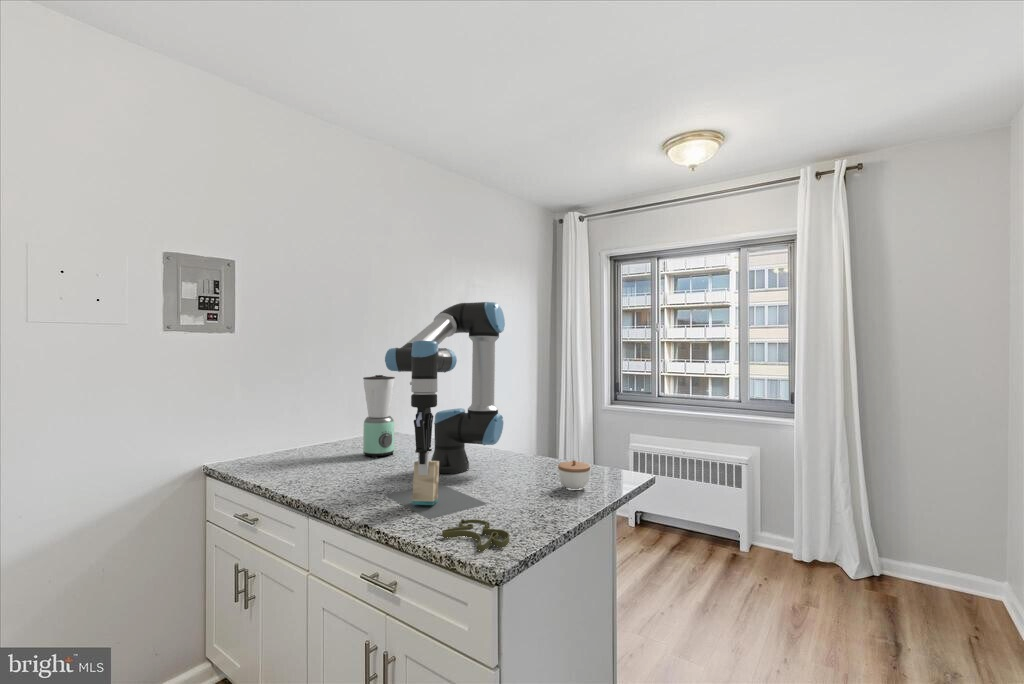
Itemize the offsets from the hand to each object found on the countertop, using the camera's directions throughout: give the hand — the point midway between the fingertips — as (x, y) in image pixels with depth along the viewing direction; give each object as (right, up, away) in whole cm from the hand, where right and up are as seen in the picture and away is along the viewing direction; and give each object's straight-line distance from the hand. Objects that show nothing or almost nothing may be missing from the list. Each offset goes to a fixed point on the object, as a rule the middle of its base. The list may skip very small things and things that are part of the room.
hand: (423, 474), depth 140 cm
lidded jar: (+47, -11, +23) cm, 53 cm away
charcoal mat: (+2, -11, +8) cm, 13 cm away
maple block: (0, -9, +2) cm, 9 cm away
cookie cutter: (+17, -11, -19) cm, 28 cm away
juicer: (-33, -11, +72) cm, 80 cm away
